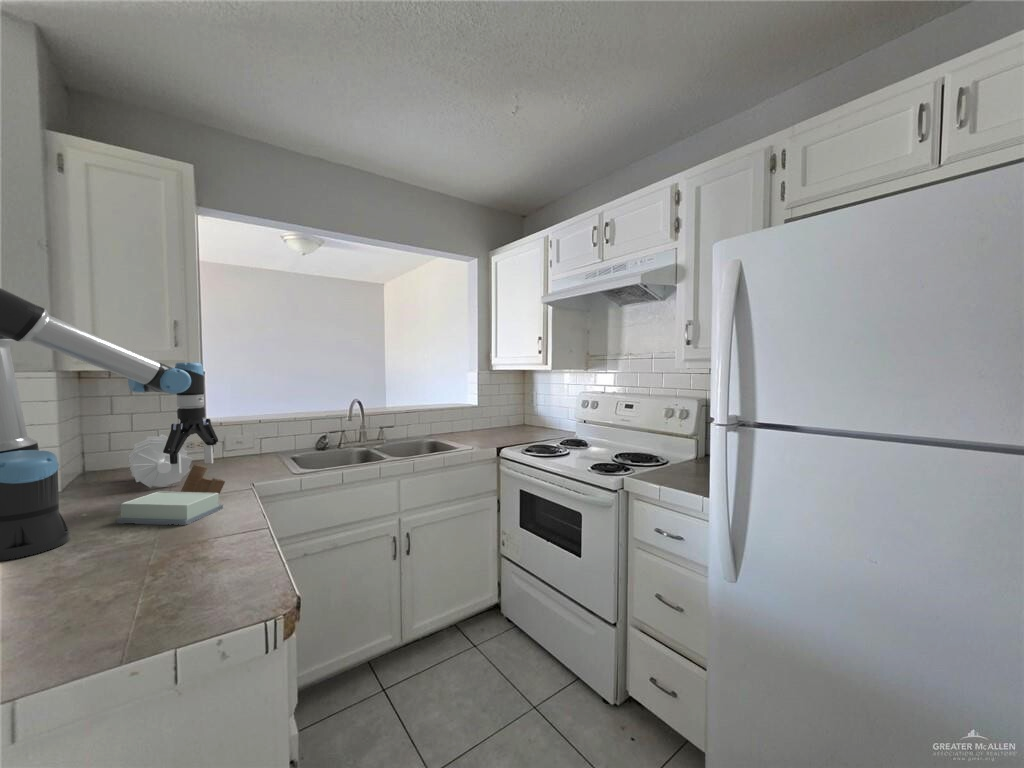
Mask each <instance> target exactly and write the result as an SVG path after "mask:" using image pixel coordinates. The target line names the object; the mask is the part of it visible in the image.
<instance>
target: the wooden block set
mask: <svg viewBox="0 0 1024 768" xmlns="http://www.w3.org/2000/svg"><path fill="white" fill-rule="evenodd" d="M207 470H208V466H205V465H201V464H195V463H194V464H193V465H192V466H191V469H190V471H189V472H188V473H189V474H188V475H187V477H186V479H185V481H184V484H183V486H182V488H181V490H180V492H200V493H219V495H220V494H221V492H222V490H223V487H224V485H225V483H226V481H225V480H224V479H223V480H222V479H221V478H220V479H219V478H214V477H212V479H210V478H205V477H204V476H205V474H206V472H207Z"/></svg>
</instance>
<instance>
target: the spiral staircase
mask: <svg viewBox="0 0 1024 768" xmlns="http://www.w3.org/2000/svg"><path fill="white" fill-rule="evenodd" d="M168 437H169V436H167V435H164V434H163V433H161V434H160V435H159V436H146V438H145V439H144V440H142V441H140V442H137V443H135V444H133V446H134V448H133V449H132V451H130V453H129V455H127V457H128V458H129V459H128V460H127V462H129V469H130V470H129V472H131V477H134V479H135V482H136V483H138V482H140V483H142V484H144V485H145V486H146V487H148V488H149V489H151V488H153V487H158V488H159V487H161V488H164V487H165V488H168V486H169V485H172V484H175V483H176V484H177V483H179V482H182V478H184V477H185V476H186V475H187V474H188V473H190V471H191V469H190V466H191V465H192V461H193V457H190V456H187V455H188V451H187V450H186V449H185V447H184V446H182V447H181V449H180V451H179V452H178V453H181V473H172V468H171V464H170V455H169V454H166V453H163V451H164V448H165V445H166V442H167V440H168ZM169 450H170V449H169Z"/></svg>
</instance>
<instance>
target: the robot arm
mask: <svg viewBox="0 0 1024 768" xmlns="http://www.w3.org/2000/svg"><path fill="white" fill-rule="evenodd" d="M16 342H18V343H20V342H21V343H22V342H30V343H33V344H36V345H39V346H41V347H43V348H46V349H50V350H52V351H54V352H58V353H60V354H62V355H65V356H68V357H70V358H73V359H76V360H78V361H81V362H83V363H86V364H89V365H92V366H94V367H97V368H99V369H102V370H104V371H108V372H110V373H114V374H116V375H118V376H121V377H124V378H127V383H128V387H129V390H130V391H131V392H133V393H165V394H170V395H176V407H178V408H177V411H176V412H177V419H178V420H180V421H179V423H171V424H170V425H171V426H170V432H169V435H168V436H167V437H168V440H167V442H166V445H165V448H164V451H163V453H166V454H169V455H170V464H171V468H172V473H181V453H178V452H179V451H180V449H181V447H182V446H183V445H184V444H185V442H186V440H187V438H189V437H191V436H193V435H195V434H197V436H198V437H199V438H200V439H201V440H202V442H203V443H204V444H205V445H203V458H204V464H214V450H215V449H214V446H216V445H217V443H218V442H219V438H218V436H217V433H216V432H215V430H214V428H213V426H212V422H211V418H205V417H206V408H205V407H204V406H205V387H204V386H205V385H204V383H205V382H204V379H205V377H204V376H205V374H204V373H205V372H204V367H203V364H202V363H200V362H176V363H175V364H174V366H175V367H171V366H169V365H167V364H165V363H162V362H159V361H158V360H155V359H153V358H151V357H148V356H146V355H143V354H141V353H139V352H136V351H134V350H133V349H132V350H131V349H129V348H127V347H125V346H122V345H120V344H117V343H115V342H113V341H110V340H108V339H106V338H103V337H101V336H99V335H97V334H94V333H91V332H90V331H87V330H84V329H83V328H80V327H78V326H75V325H73V324H70V322H69V323H68V322H66V321H64V320H61V319H60V318H56V317H54V316H52V315H50V314H49V313H48V310H47V309H46V308H43V307H42V306H39V305H37V304H35V303H33V302H31V301H28V300H27V299H24V298H23V297H20V296H18V295H16V294H14V293H12V292H10V291H8V290H5V289H4V288H1V287H0V562H2V561H9V559H10V560H15V558H16V559H20V557H21V558H25V557H24V556H26V557H29V556H28V555H30V556H34V555H38V554H41V553H44V551H45V552H47V550H48V551H50V549H51V550H54V549H56V548H58V546H59V547H61V546H63V545H65V544H67V543H68V542H69V541H70V540H69V539H71V537H70V536H71V535H70V534H71V533H70V529H69V527H68V526H67V523H66V522H65V520H64V518H63V516H62V514H61V512H60V503H59V501H60V500H59V499H60V498H59V467H60V466H59V462H58V456H57V455H56V453H53V452H52V451H49V450H40V449H39V444H38V441H37V440H36V439H33V438H31V437H29V436H28V433H27V428H26V423H25V418H24V413H23V409H22V403H21V398H20V393H19V388H18V383H17V377H16V373H15V369H14V368H15V367H14V363H13V358H12V353H11V347H12V345H13V344H14V343H16ZM183 447H184V446H183ZM169 449H170V450H169ZM62 544H63V545H62ZM60 545H61V546H60ZM55 547H56V548H55ZM53 548H54V549H53ZM40 552H41V553H40ZM37 553H38V554H37ZM33 554H34V555H33Z"/></svg>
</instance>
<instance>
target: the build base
mask: <svg viewBox="0 0 1024 768" xmlns="http://www.w3.org/2000/svg"><path fill="white" fill-rule="evenodd" d="M222 508H223V509H224V504H220V494H219V493H200V492H181V491H156V492H153V493H150V494H146V495H144V496H140V497H137V498H133V499H132V500H128V501H124V502H121V504H120V517H118V518H115V524H124V523H135V524H134V525H165V526H166V525H167V526H169V525H170V526H172V525H171V524H174V525H173V526H187V525H186V524H188V525H190V524H192V523H194V522H196V521H195V520H197V521H198V519H199V520H201V519H203V518H205V517H207V515H208V516H209V514H210V515H212V514H214V513H217V512H218V510H219V511H220V509H221V510H223V509H222ZM216 511H217V512H216ZM211 513H212V514H211ZM202 517H203V518H202ZM200 518H201V519H200ZM193 521H194V522H193ZM191 522H192V523H191ZM189 523H190V524H189ZM168 524H169V525H168ZM178 524H179V525H178Z"/></svg>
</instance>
